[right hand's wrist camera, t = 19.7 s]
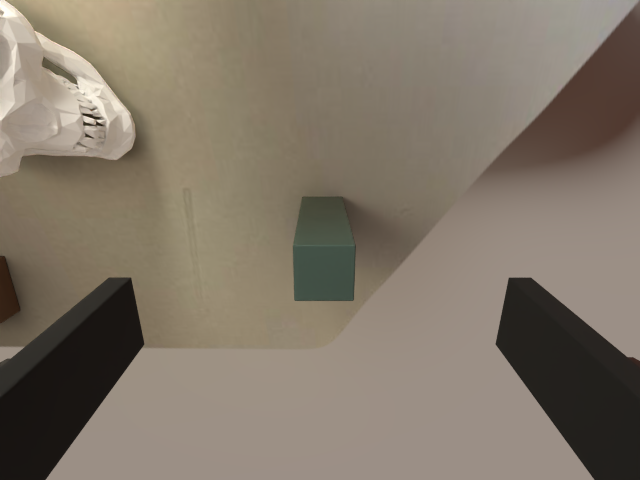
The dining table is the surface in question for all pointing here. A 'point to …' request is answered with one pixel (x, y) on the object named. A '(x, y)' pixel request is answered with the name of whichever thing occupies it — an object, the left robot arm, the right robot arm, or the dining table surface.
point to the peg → (323, 251)
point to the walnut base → (6, 293)
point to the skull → (53, 100)
